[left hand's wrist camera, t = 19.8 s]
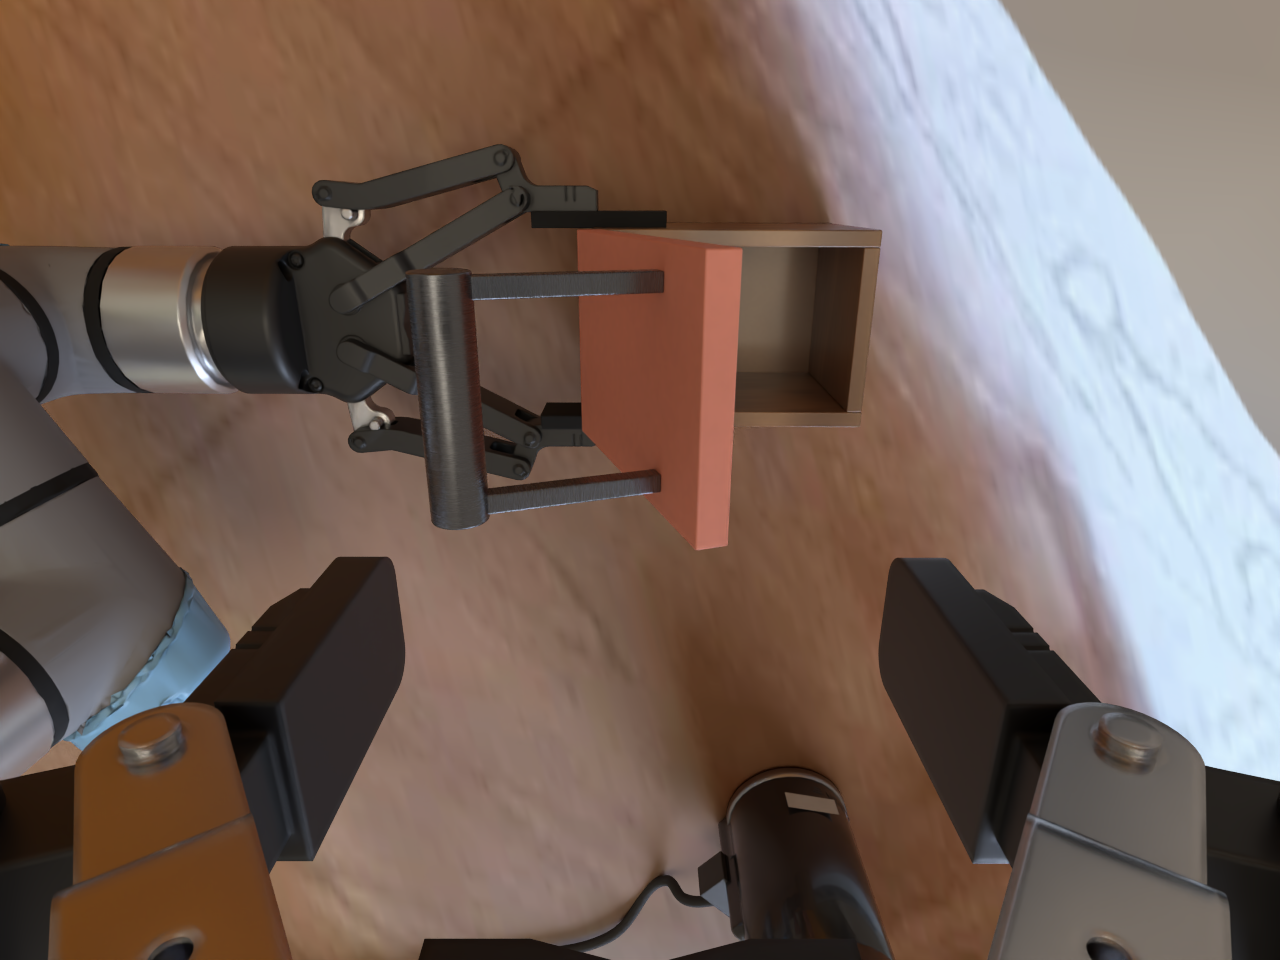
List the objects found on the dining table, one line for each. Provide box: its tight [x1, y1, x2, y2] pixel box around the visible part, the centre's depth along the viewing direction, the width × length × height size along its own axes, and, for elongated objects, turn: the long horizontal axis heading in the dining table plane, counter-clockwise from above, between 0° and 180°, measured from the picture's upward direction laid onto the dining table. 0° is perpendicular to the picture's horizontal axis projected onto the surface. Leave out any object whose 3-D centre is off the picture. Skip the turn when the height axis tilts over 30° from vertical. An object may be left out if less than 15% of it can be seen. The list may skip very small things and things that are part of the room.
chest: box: [592, 223, 882, 427], centre depth 40 cm, size 14×9×10 cm
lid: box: [405, 229, 743, 550], centre depth 27 cm, size 14×9×9 cm
